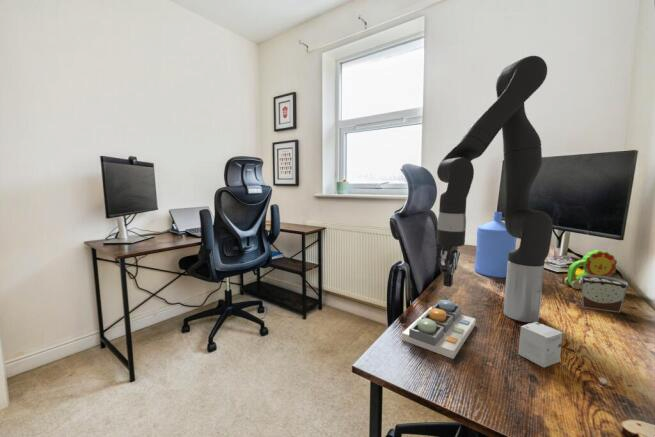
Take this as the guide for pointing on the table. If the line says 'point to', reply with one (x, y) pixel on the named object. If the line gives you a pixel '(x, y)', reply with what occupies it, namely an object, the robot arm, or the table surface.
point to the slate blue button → (447, 305)
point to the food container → (603, 292)
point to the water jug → (493, 248)
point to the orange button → (437, 315)
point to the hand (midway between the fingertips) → (447, 285)
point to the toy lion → (591, 267)
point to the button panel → (442, 333)
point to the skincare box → (540, 344)
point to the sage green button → (427, 326)
